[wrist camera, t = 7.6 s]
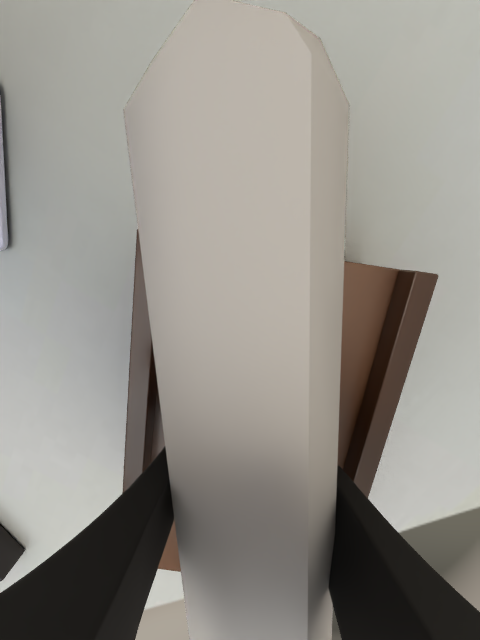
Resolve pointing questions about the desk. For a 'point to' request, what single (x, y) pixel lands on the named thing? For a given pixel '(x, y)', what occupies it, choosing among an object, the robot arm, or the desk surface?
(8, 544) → the picture frame
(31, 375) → the desk surface
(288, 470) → the tube
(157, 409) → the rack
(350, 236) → the desk surface
